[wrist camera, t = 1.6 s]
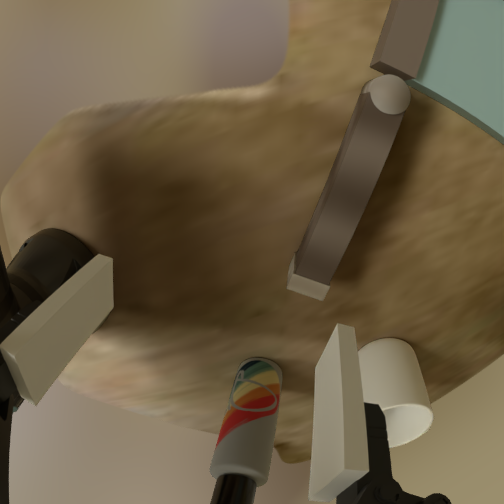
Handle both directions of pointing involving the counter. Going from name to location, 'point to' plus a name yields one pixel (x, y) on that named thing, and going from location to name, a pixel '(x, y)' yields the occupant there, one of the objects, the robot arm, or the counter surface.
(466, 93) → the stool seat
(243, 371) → the lotion bottle
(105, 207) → the counter surface
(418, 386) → the cup
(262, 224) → the counter surface
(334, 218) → the folding leg
